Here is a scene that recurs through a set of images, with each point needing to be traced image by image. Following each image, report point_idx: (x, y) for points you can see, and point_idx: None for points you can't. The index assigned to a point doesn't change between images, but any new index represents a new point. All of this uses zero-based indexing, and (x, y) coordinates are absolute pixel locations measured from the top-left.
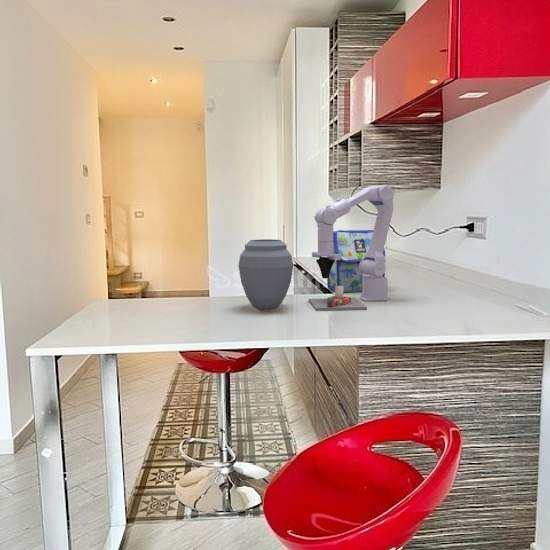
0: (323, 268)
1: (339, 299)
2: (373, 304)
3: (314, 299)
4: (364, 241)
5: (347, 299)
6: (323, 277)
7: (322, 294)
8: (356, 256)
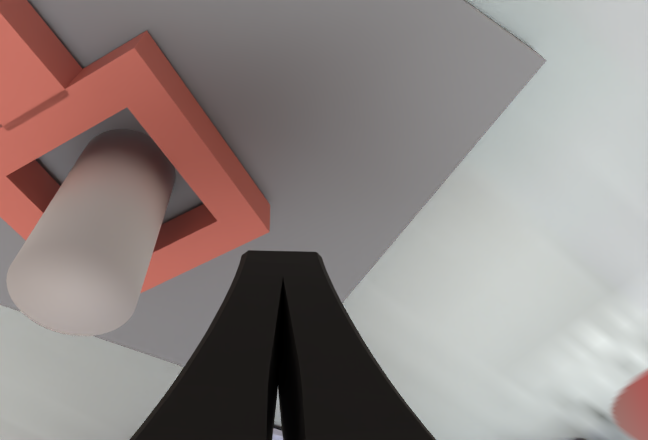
0: (191, 407)
1: (2, 132)
2: (40, 379)
3: (457, 84)
4: None
5: (16, 224)
6: (272, 257)
7: (643, 352)
8: None
